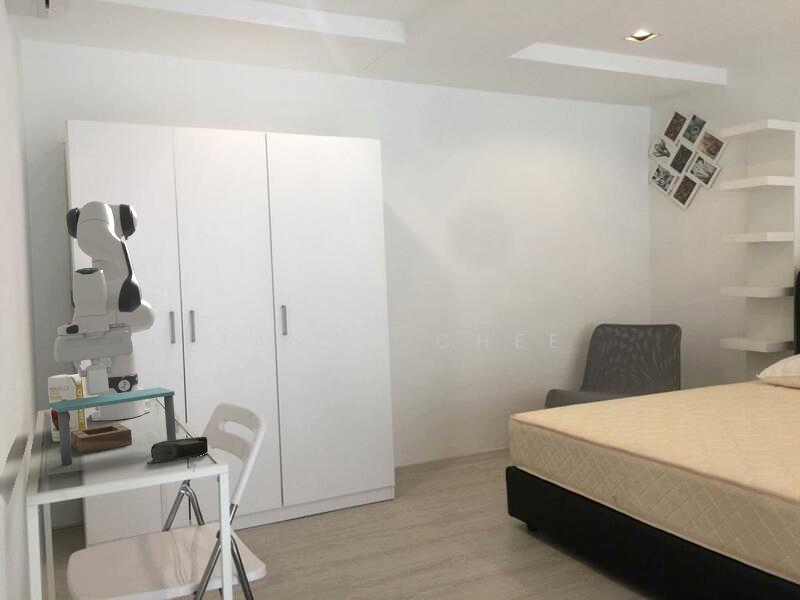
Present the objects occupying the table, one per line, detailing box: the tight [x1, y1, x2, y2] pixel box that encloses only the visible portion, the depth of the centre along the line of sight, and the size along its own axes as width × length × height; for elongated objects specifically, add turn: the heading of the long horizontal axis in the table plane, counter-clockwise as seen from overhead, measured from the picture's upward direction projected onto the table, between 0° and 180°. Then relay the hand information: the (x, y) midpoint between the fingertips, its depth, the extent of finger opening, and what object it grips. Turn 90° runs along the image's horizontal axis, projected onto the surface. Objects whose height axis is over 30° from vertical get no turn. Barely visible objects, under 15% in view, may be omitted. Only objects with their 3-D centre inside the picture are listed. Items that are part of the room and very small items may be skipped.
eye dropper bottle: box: [84, 359, 109, 397], centre depth 193 cm, size 4×6×12 cm
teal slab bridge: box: [48, 386, 177, 466], centre depth 185 cm, size 12×29×14 cm, turn 127°
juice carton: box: [47, 373, 88, 443], centre depth 203 cm, size 8×9×19 cm
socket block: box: [70, 422, 133, 454], centre depth 194 cm, size 13×13×4 cm
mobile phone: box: [146, 436, 209, 465], centre depth 173 cm, size 5×3×15 cm
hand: (96, 375), depth 193 cm, fingers closed on eye dropper bottle, 6 cm apart
